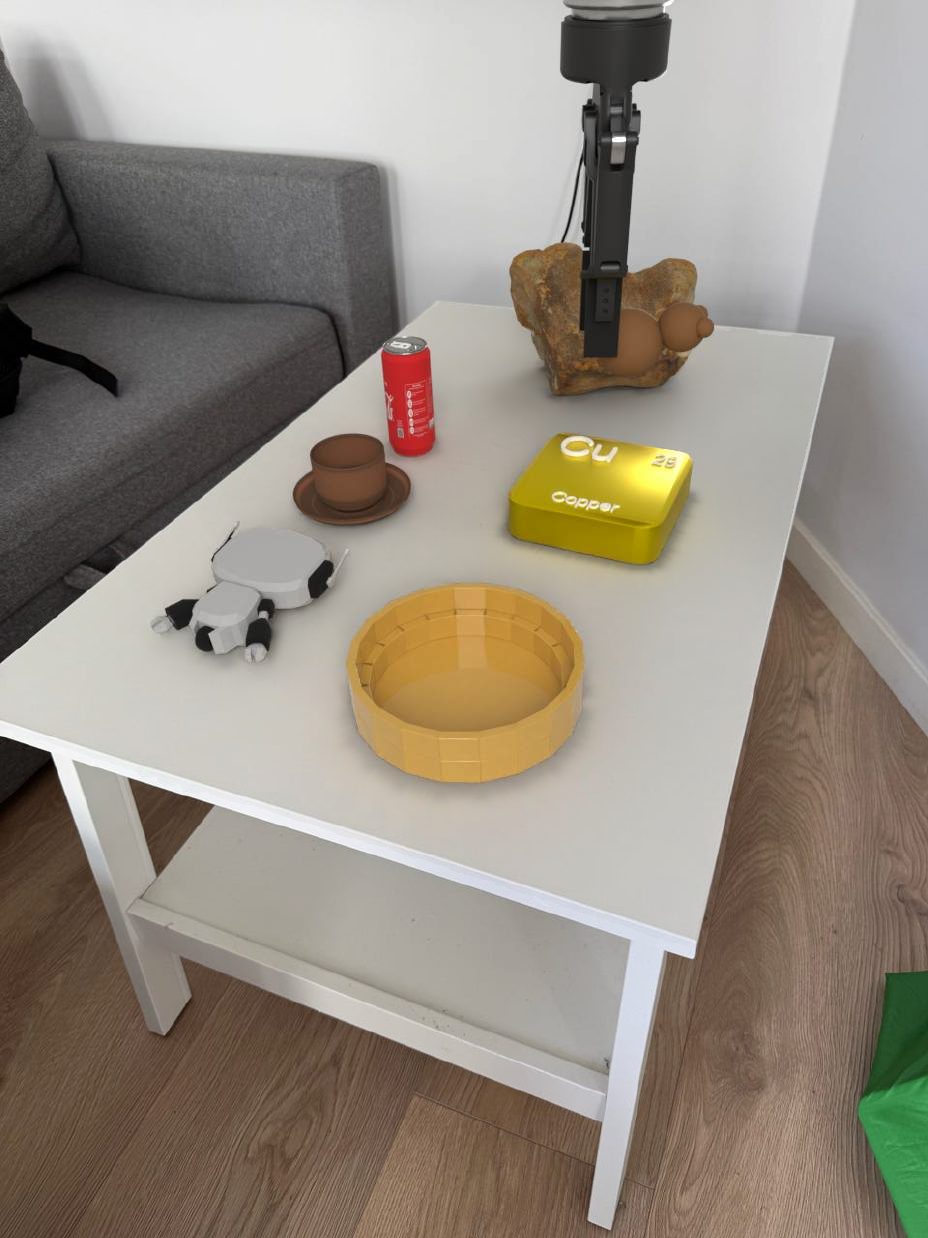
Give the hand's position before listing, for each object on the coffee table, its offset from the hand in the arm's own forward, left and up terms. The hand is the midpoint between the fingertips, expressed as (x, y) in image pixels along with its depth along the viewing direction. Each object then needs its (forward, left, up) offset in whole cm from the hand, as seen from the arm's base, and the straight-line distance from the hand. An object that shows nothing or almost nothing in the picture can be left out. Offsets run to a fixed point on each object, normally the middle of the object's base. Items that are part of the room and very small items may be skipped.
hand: (597, 341), depth 77 cm
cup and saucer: (+23, -5, -19) cm, 31 cm away
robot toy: (+29, +13, -19) cm, 37 cm away
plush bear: (0, 0, -1) cm, 1 cm away
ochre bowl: (+10, +24, -19) cm, 32 cm away
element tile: (-2, -3, -19) cm, 19 cm away
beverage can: (+18, -17, -19) cm, 32 cm away
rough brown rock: (-3, -34, -19) cm, 39 cm away
